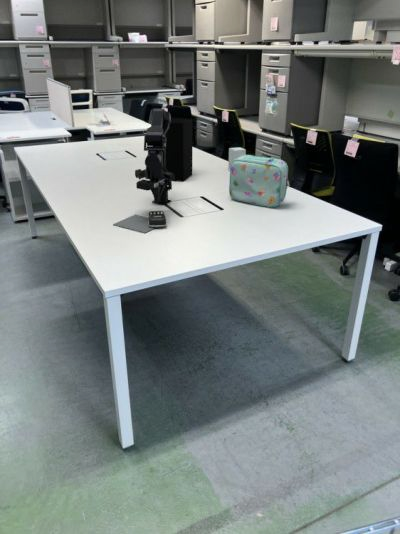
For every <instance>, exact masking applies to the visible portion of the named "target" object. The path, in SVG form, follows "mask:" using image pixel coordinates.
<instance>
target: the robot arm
mask: <svg viewBox="0 0 400 534" xmlns="http://www.w3.org/2000/svg"><path fill="white" fill-rule="evenodd" d="M171 118H172V117H171V113H170V111H168V110H166V109H165V108H156V107H155V108H152V111H150V116H149V120H150V127H147V129H146V132H145V133H144V139H143V151H144V152H147V155H146V157H145V159H144V165H145V169H141V168H139V169H135V171H134V175H135V178H136V179H138V180H139V181H138V180H137V182H136V183H135V184H136V185H135V186H136V189H137V190H143V191H146V192H147V191H150V192H151V193H152V196H153V200H152V201H151V203H152V204H156V205H162V206H164V205H167V204H169V203H171V202H172V201H171V199H169V191H172V189H173V183H172V182H174V181H173V180H175V175H174V174H173V173H170V172H167V170H166V168H165V148H166V137H165V135H166V132H167V131H168V129H169V123H171Z"/></svg>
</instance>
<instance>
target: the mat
mask: <svg viewBox="0 0 400 534" xmlns="http://www.w3.org/2000/svg"><path fill="white" fill-rule="evenodd" d="M167 223H168V222H167V221H166V224H167ZM112 226H114V227H117V228H121V229H126V230H130V231H135V232H138V233H142V234H147V233H149V232H151V231H153V230H155V229H156V228H150V227H149V224H148V216H144V215H139V214H137V213H135V214H133V215H130V216H128V217H126V218H124V219H122V220H120V221H117V222H115V223H113V224H112Z"/></svg>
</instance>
